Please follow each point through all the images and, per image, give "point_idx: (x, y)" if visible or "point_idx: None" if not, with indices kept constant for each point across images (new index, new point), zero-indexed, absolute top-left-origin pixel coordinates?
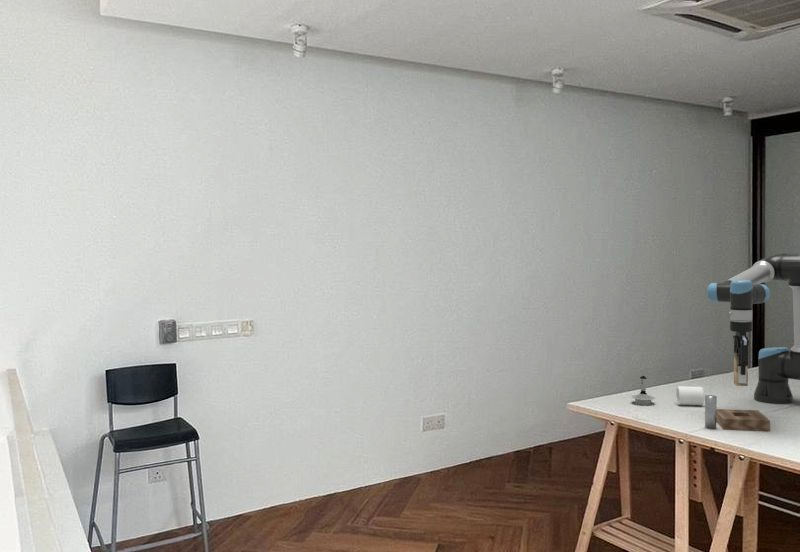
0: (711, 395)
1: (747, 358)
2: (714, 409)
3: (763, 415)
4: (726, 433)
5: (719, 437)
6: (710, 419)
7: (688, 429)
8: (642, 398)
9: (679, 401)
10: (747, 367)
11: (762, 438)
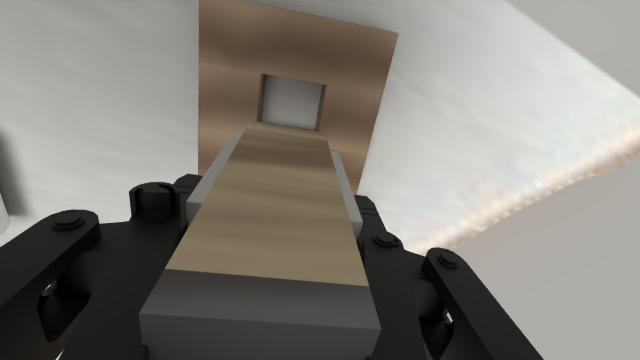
0: None
1: (509, 333)
2: None
3: (307, 18)
4: (393, 189)
5: (429, 219)
6: None
7: None
8: None
9: (8, 226)
10: (341, 197)
11: (464, 107)
